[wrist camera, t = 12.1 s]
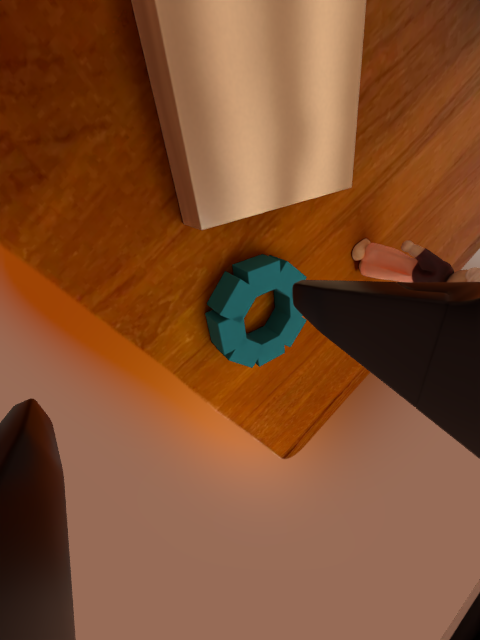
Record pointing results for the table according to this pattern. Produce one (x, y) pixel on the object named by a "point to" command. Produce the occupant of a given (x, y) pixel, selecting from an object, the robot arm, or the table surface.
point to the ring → (236, 301)
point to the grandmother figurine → (407, 264)
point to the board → (253, 100)
